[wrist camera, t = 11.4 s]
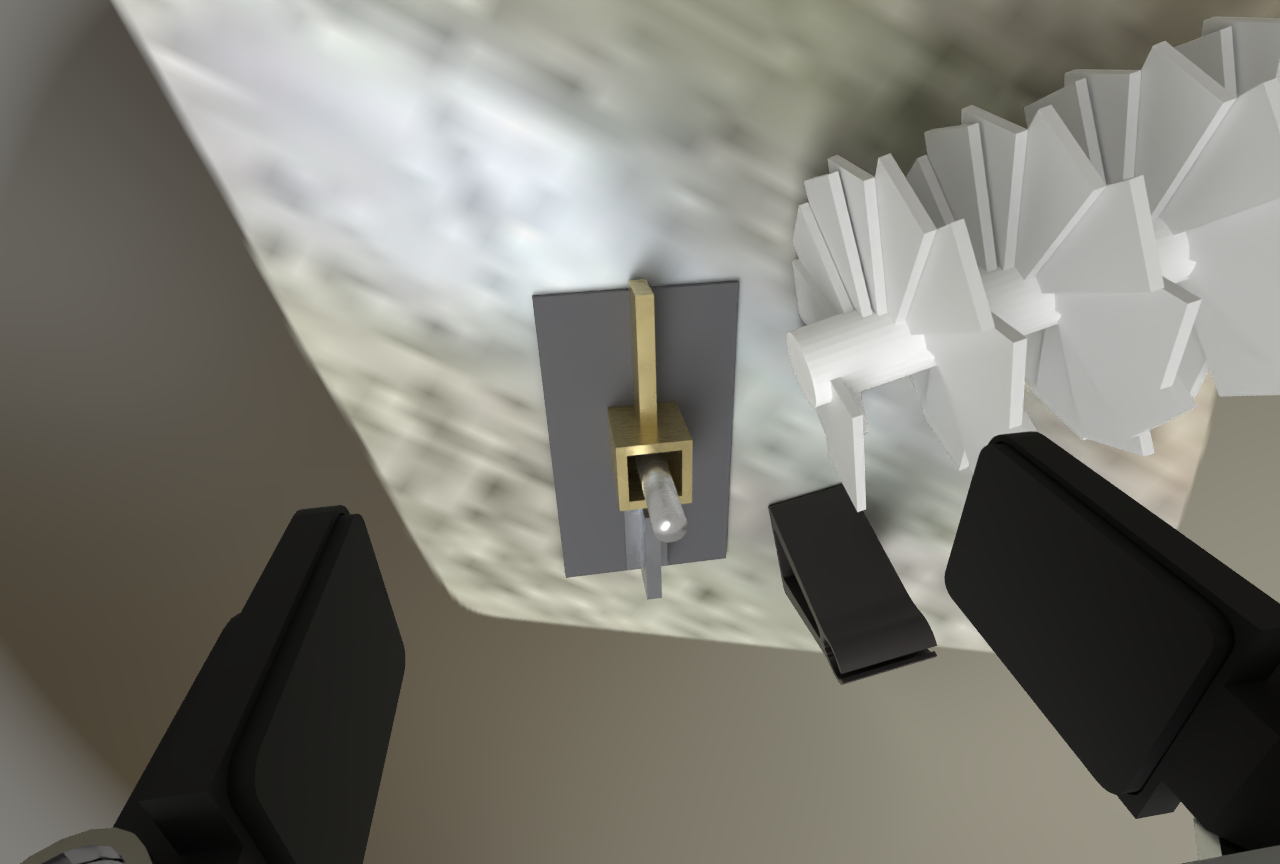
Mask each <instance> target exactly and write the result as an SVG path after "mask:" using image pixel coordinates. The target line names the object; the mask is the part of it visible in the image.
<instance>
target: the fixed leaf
mask: <svg viewBox="0 0 1280 864" xmlns="http://www.w3.org/2000/svg"><path fill="white" fill-rule="evenodd" d="M634 458H635V462H636V466H637V470H638V473H639V477H640V481H641V485H642V489H643V493H644V497H645V501H646V504H647V508H643V509H635V510H626V511H624V526H625V545H626V563H627V570H631V569H639V568H641V572H642V576H643V581H644V586H645V591H646V595H647V600H648V599H655V598H662V587H661V566H663V565H668V559H667V542H675V541H677V540H679V539H681V538H682V537H683V536H684V535H685V534H686V532H687V530H688V523H687V520H686V517H685V514H684V511H683V508H682V505H681V502H680V499H679V496H678V494H677V491H676V488H675V485H674V482H673V479H672V476H671V473H670V470H669V467H668V464H667V461H666V458H665V455H664V452H660V453H651V454H642V455H634Z"/></svg>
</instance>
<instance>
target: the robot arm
mask: <svg viewBox="0 0 1280 864" xmlns="http://www.w3.org/2000/svg"><path fill="white" fill-rule="evenodd" d="M945 585H946V588H947V591H948V593H949V595H950V596H951V598H952V599H953V600H954V602H955V603H956V604H957V605H958V607H959V608H960V609H961V610H962V612H963V613H964V614H965V616H966V617H967V618H968V619H969V621H970V622H971V623H972V624H973V626H974V627H975V628H976V629H977V631H978V632H979V633H980V634H981V636H982V637H983V638H984V639H985V641H986V642H987V643H988V645H989V646H990V647H991V648H992V650H993V651H994V652H995V653H996V655H997V656H998V657H999V658H1000V660H1001V661H1002V662H1003V663H1004V665H1005V666H1006V667H1007V668H1008V670H1009V671H1010V672H1011V674H1012V675H1013V676H1014V677H1015V678H1016V680H1017V681H1018V682H1019V684H1020V685H1021V686H1022V687H1023V688H1024V690H1025V691H1026V692H1027V694H1028V695H1029V696H1030V697H1031V699H1032V700H1033V701H1034V703H1036V705H1037V706H1038V707H1039V709H1040V710H1041V711H1042V713H1043V714H1044V715H1045V716H1046V718H1047V719H1048V720H1049V721H1050V723H1051V724H1052V725H1053V726H1054V727H1055V729H1056V730H1057V731H1058V733H1059V734H1060V735H1061V736H1062V738H1063V739H1064V740H1065V742H1066V743H1067V744H1068V745H1069V747H1070V748H1071V749H1072V750H1073V751H1074V753H1075V754H1076V755H1077V757H1078V758H1079V759H1080V760H1081V762H1082V763H1083V764H1084V765H1085V767H1086V768H1087V769H1088V771H1089V772H1090V773H1091V774H1092V776H1093V777H1094V778H1095V779H1096V781H1097V782H1098V783H1099V784H1100V785H1101V786H1102V787H1103V788H1104V789H1106V790H1107V791H1108V792H1110V793H1113V794H1115V795H1117V796H1118V797H1119V799H1120V800H1121V801H1122V802H1123V804H1124V805H1125V806H1126V807H1127V809H1128V810H1129V811H1130V812H1131V813H1132V815H1133V816H1134V817H1135V819H1138V818H1143V817H1149V816H1154V815H1160V814H1165V813H1170V812H1174V810H1175V809H1176V807H1177V806H1178V804H1179V803H1180V802H1182V803H1183V804H1184V805H1185V807H1186V808H1187V809H1188V810H1189V811H1190V812H1191V813H1192V814H1193V816H1194V819H1193V820H1194V827H1195V835H1196V843H1197V850H1198V858H1199V860H1198V861H1193V862H1188V863H1183V864H1280V604H1279V603H1278V602H1277V601H1275V600H1274V599H1272V598H1271V597H1270V596H1268V595H1267V594H1265V593H1264V592H1263V591H1261V590H1260V589H1258V588H1257V587H1256V586H1254V585H1253V584H1251V583H1250V582H1249V581H1247V580H1246V579H1244V578H1243V577H1241V576H1240V575H1239V574H1237V573H1236V572H1235V571H1233V570H1232V569H1230V568H1229V567H1228V566H1226V565H1225V564H1223V563H1222V562H1220V561H1219V560H1218V559H1216V558H1215V557H1214V556H1212V555H1211V554H1209V553H1208V552H1207V551H1205V550H1204V549H1202V548H1201V547H1200V546H1198V545H1197V544H1195V543H1194V542H1193V541H1191V540H1190V539H1188V538H1187V537H1185V536H1184V535H1183V534H1181V533H1180V532H1179V531H1177V530H1176V529H1174V528H1173V527H1172V526H1170V525H1169V524H1167V523H1166V522H1165V521H1163V520H1162V519H1160V518H1159V517H1158V516H1156V515H1155V514H1153V513H1152V512H1151V511H1149V510H1148V509H1146V508H1145V507H1144V506H1142V505H1141V504H1139V503H1138V502H1137V501H1135V500H1134V499H1132V498H1131V497H1129V496H1128V495H1127V494H1125V493H1124V492H1122V491H1121V490H1120V489H1118V488H1117V487H1115V486H1114V485H1113V484H1111V483H1110V482H1108V481H1107V480H1106V479H1104V478H1103V477H1101V476H1100V475H1099V474H1097V473H1096V472H1094V471H1093V470H1092V469H1090V468H1089V467H1087V466H1086V465H1085V464H1083V463H1082V462H1080V461H1079V460H1078V459H1076V458H1075V457H1073V456H1072V455H1071V454H1069V453H1068V452H1066V451H1065V450H1064V449H1062V448H1061V447H1059V446H1058V445H1057V444H1055V443H1054V442H1052V441H1051V440H1050V439H1048V438H1047V437H1045V436H1044V435H1042V434H1040V433H1038V432H1034V431H1028V432H1019V433H1009V434H1000V435H997V436H994V437H993V438H992V439H991V440H990V441H989V443H988V445H987V446H984V447H983V448H982V449H981V451H980V454H979V456H978V460H977V463H976V467H975V470H974V474H973V477H972V481H971V484H970V488H969V491H968V495H967V498H966V502H965V505H964V509H963V512H962V516H961V519H960V523H959V526H958V530H957V533H956V537H955V540H954V544H953V547H952V550H951V554H950V557H949V561H948V564H947V568H946V571H945ZM404 670H405V650H404V645H403V641H402V638H401V635H400V632H399V629H398V626H397V623H396V619H395V617H394V613H393V610H392V607H391V604H390V601H389V598H388V594H387V591H386V588H385V585H384V582H383V579H382V575H381V572H380V569H379V566H378V563H377V560H376V557H375V553H374V551H373V547H372V544H371V541H370V538H369V535H368V532H367V528H366V525H365V522H364V520H363V518H362V516H361V515H360V514H350V513H349V511H348V510H347V508H346V507H345V506H342V505H338V506H328V507H319V508H310V509H301V510H299V511H297V512H296V513H295V515H294V516H293V518H292V519H291V521H290V523H289V525H288V527H287V529H286V530H285V532H284V534H283V536H282V538H281V540H280V541H279V543H278V545H277V547H276V549H275V551H274V552H273V555H272V556H271V558H270V560H269V562H268V564H267V566H266V567H265V569H264V571H263V573H262V575H261V576H260V578H259V580H258V582H257V584H256V586H255V587H254V589H253V591H252V593H251V595H250V597H249V599H248V600H247V602H246V604H245V606H244V608H243V610H242V612H241V613H239V614H237V615H236V616H234V617H233V618H231V620H230V621H229V622H228V624H227V625H226V626H225V628H224V629H223V631H222V633H221V634H220V636H219V638H218V640H217V642H216V643H215V646H214V647H213V649H212V651H211V652H210V654H209V656H208V658H207V660H206V661H205V663H204V665H203V667H202V669H201V670H200V672H199V674H198V676H197V677H196V679H195V681H194V683H193V685H192V686H191V689H190V690H189V692H188V694H187V696H186V697H185V700H184V701H183V703H182V704H181V706H180V708H179V710H178V711H177V714H176V715H175V717H174V719H173V720H172V722H171V724H170V726H169V728H168V729H167V731H166V733H165V735H164V737H163V738H162V740H161V742H160V744H159V746H158V747H157V749H156V751H155V753H154V754H153V756H152V758H151V760H150V762H149V763H148V765H147V767H146V769H145V771H144V773H143V774H142V776H141V778H140V780H139V781H138V783H137V785H136V787H135V789H134V790H133V792H132V794H131V796H130V797H129V799H128V801H127V803H126V805H125V807H124V808H123V810H122V812H121V814H120V816H119V817H118V819H117V821H116V823H115V824H114V826H113V828H102V829H90V830H87V831H84V832H81V833H78V834H76V835H72V836H69V837H66V838H64V839H61V840H59V841H57V842H55V843H53V844H52V845H50V846H48V847H46V848H44V849H43V850H41V851H39V852H37V853H35V854H33V855H31V856H30V857H28V858H27V859H26V860H24V861H23V862H22V863H20V864H363V859H364V855H365V850H366V846H367V841H368V837H369V832H370V827H371V822H372V818H373V814H374V809H375V804H376V799H377V795H378V790H379V786H380V781H381V777H382V771H383V767H384V763H385V758H386V754H387V749H388V744H389V740H390V735H391V731H392V726H393V721H394V716H395V712H396V707H397V703H398V698H399V694H400V689H401V684H402V680H403V675H404Z"/></svg>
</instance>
